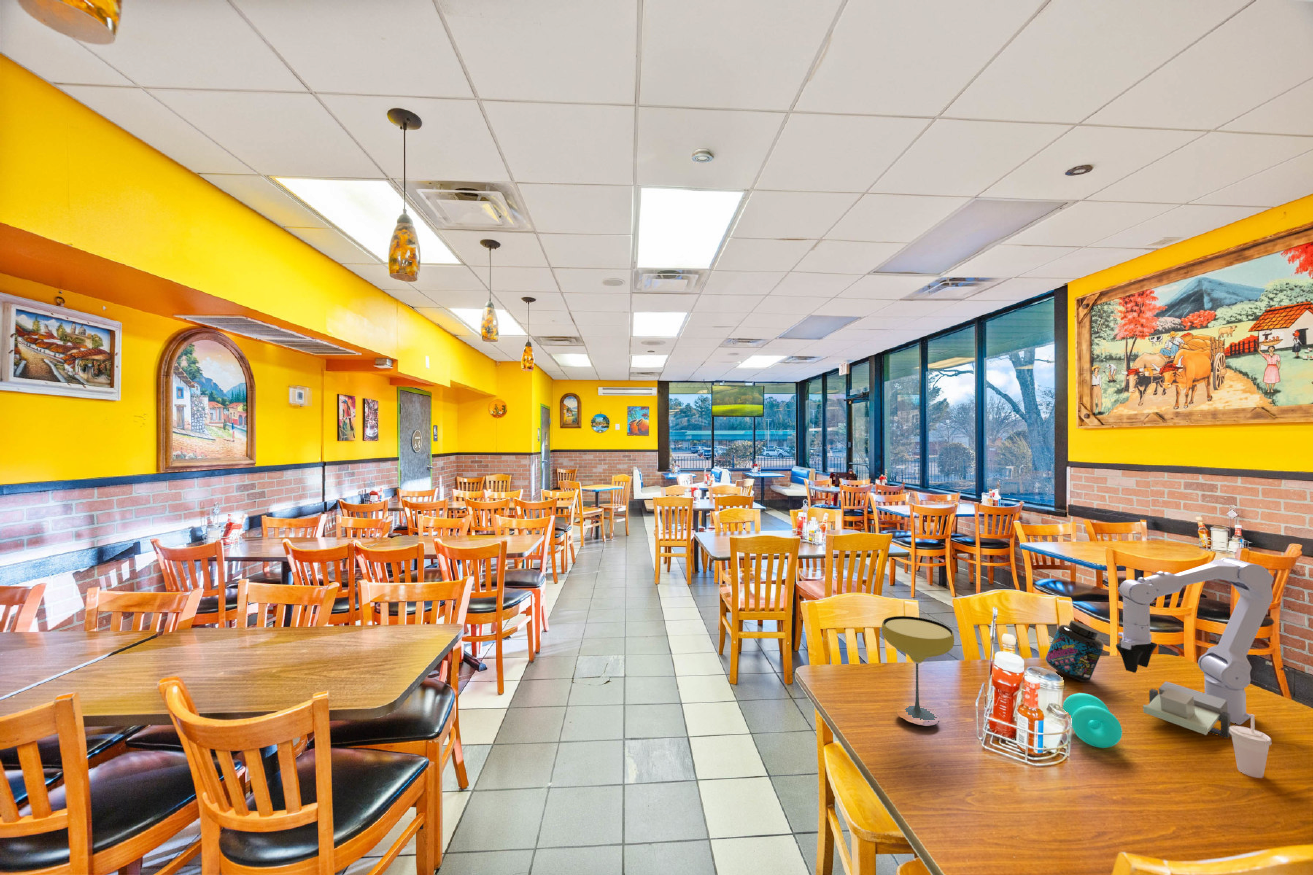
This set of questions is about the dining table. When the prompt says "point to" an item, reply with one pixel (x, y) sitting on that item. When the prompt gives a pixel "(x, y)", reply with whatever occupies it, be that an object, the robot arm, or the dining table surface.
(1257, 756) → the smoothie
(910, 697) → the dining table surface
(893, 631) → the cocktail glass
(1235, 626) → the robot arm
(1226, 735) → the frame
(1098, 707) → the teal yo-yo
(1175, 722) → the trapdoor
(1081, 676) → the container
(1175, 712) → the grey cube
